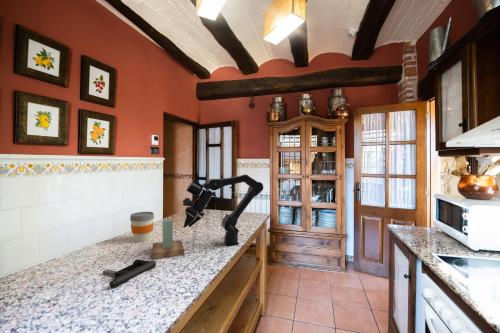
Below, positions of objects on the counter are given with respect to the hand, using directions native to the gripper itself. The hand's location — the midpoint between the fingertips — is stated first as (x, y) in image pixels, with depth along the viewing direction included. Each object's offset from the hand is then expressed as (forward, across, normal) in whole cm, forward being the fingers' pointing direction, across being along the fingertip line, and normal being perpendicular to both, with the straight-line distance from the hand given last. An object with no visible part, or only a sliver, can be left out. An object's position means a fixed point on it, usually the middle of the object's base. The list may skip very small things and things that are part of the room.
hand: (186, 226), depth 123 cm
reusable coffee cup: (+22, -16, -22) cm, 35 cm away
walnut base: (+15, +1, -1) cm, 15 cm away
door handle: (+24, +23, -6) cm, 34 cm away
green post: (+12, +2, -3) cm, 13 cm away
